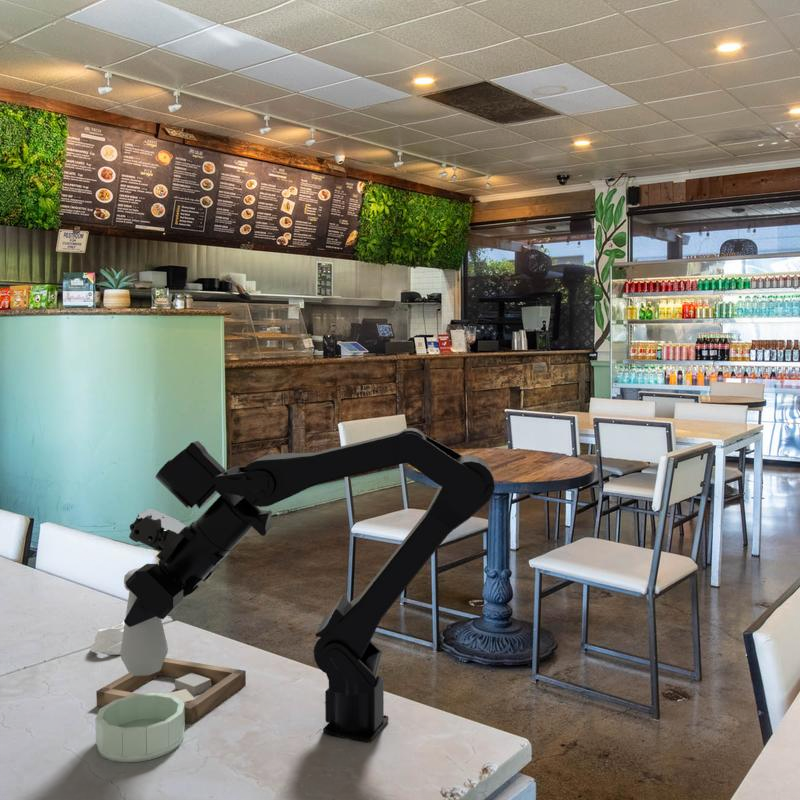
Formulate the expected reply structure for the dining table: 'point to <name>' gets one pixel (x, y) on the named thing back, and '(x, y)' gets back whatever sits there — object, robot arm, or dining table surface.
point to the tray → (221, 676)
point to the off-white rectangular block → (193, 683)
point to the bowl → (140, 727)
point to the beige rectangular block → (182, 695)
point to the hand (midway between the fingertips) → (132, 619)
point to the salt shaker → (143, 642)
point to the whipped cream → (109, 640)
